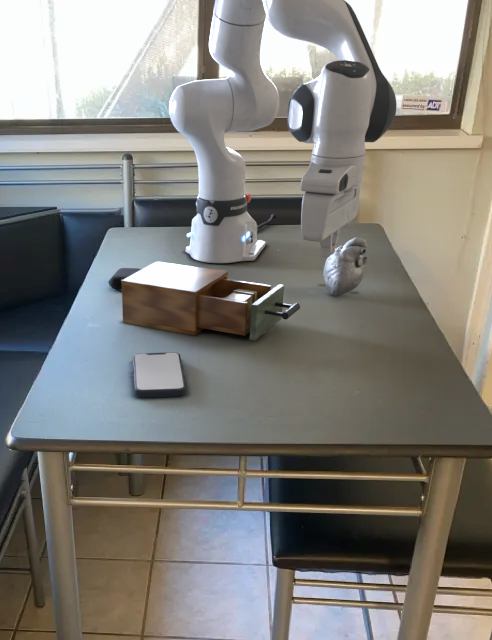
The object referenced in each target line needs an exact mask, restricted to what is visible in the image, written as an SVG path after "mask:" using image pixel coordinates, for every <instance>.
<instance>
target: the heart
mask: <svg viewBox="0 0 492 640" xmlns="http://www.w3.org/2000/svg"><path fill="white" fill-rule="evenodd" d="M366 248H368V242H367V241H366V239H365V238H359V237H353V238H352V239H350V240H348V241H346V242H345V243H344V245H340V246H338V247H336V249H335V253H333V254H332V255H331V256H330V257H328V258H327V257H326V260H325V264H324V267H323V273H322V274H323V280H324V284H325V287H326V289H327V291H328V293H330V294H331V295H332V296H336V297H337V296H341V295H344V294H347V293H349V292H351V291H354V289H355V290H356V288H357V287H359V285H360V283H361V282H362V281H363V279H364V274H365V266H364V265H366V264H367V262H368V256H366V254H367V250H366Z"/></svg>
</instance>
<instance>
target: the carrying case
mask: <svg viewBox="0 0 492 640" xmlns="http://www.w3.org/2000/svg"><path fill="white" fill-rule="evenodd" d="M142 269H143V268H139V267H138V268H137V267H121V268H119V269H117V271H116V272H115V273H114V274H113V275H112V276H111V278H110V279H109V280H108V285H109V286H110V287H111V289H113V290H115V291H122V283H121V281H122V280H123V279H125V278H127V277H129V276H131V275H133V274H135V273H136V272H138V271H140V270H142Z"/></svg>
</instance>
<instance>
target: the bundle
mask: <svg viewBox="0 0 492 640" xmlns="http://www.w3.org/2000/svg"><path fill="white" fill-rule="evenodd" d="M223 298H224V297H223ZM224 299H230V300H237V301H243V302H248V311H247V320H248V319H249V318H250V317H251V306H252V304H253V303H254V302H256V301H257V292H256V291H249V290H243V289H237V290H234V291H233V293H231V294H230V295H228V296H227V297H225V298H224Z"/></svg>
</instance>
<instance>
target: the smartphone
mask: <svg viewBox="0 0 492 640" xmlns="http://www.w3.org/2000/svg"><path fill="white" fill-rule="evenodd" d="M132 373H133V384H134V395H135V397H138V398H144V399H145V398H166V397H167V398H168V397H182V396H185V395H186V392H187V386H186V381H185V376H184V368H183V364H182V357H181V354H180V353H179V352H176V351H172V352H171V351H170V352H169V351H168V352H144V353H142V352H141V353H135V354H134V355H132Z"/></svg>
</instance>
